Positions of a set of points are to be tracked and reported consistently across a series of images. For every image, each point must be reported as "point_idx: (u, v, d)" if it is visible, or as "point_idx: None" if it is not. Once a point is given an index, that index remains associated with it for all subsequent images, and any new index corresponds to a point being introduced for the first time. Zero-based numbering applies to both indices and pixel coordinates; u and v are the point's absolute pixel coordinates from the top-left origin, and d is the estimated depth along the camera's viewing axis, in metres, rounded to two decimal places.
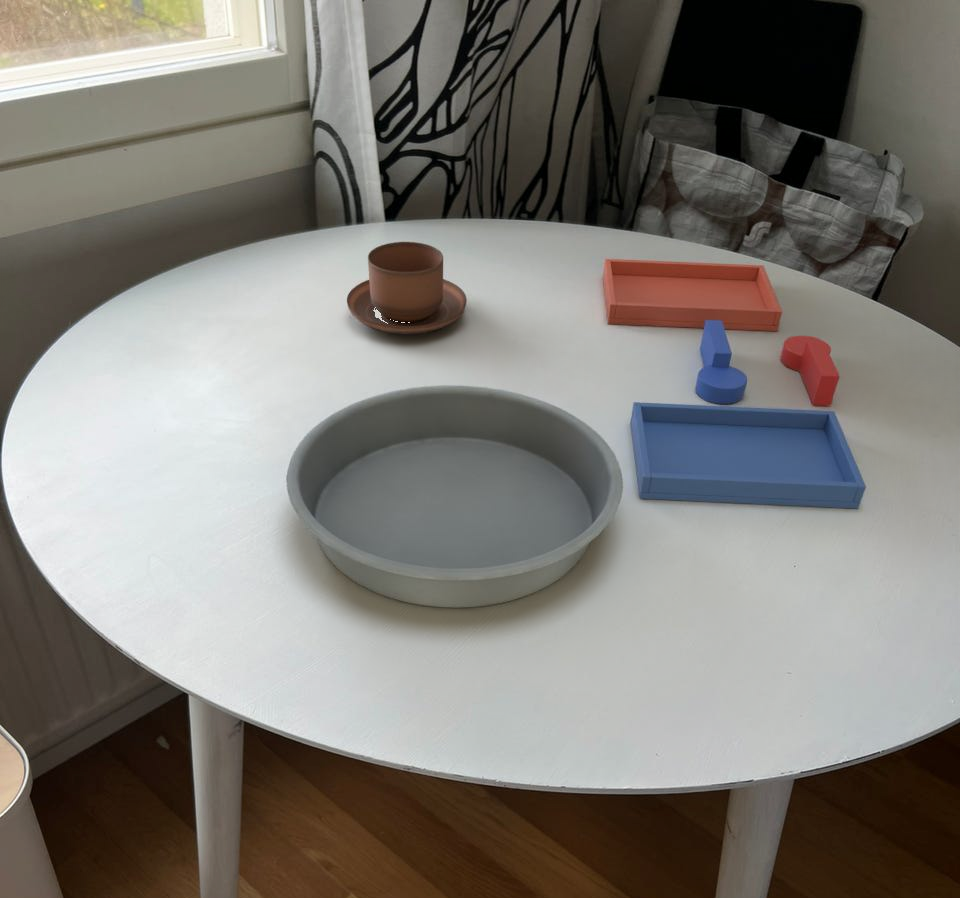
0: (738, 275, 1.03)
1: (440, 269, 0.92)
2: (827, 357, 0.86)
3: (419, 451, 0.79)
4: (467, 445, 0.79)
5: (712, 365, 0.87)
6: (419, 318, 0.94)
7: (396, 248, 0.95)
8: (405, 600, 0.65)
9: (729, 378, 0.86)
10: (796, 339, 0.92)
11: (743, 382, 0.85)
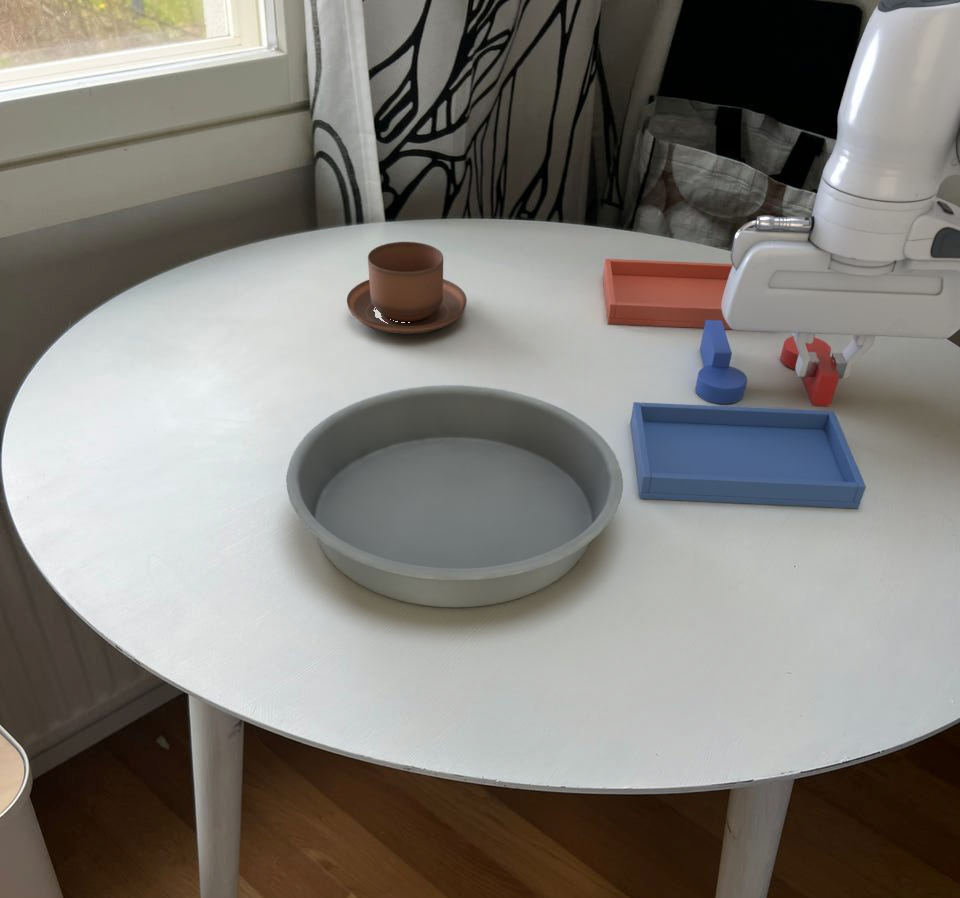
0: None
1: (440, 269, 0.92)
2: (827, 357, 0.86)
3: (419, 451, 0.79)
4: (467, 445, 0.79)
5: (712, 365, 0.87)
6: (419, 318, 0.94)
7: (396, 248, 0.95)
8: (405, 600, 0.65)
9: (729, 378, 0.86)
10: None
11: (743, 382, 0.85)
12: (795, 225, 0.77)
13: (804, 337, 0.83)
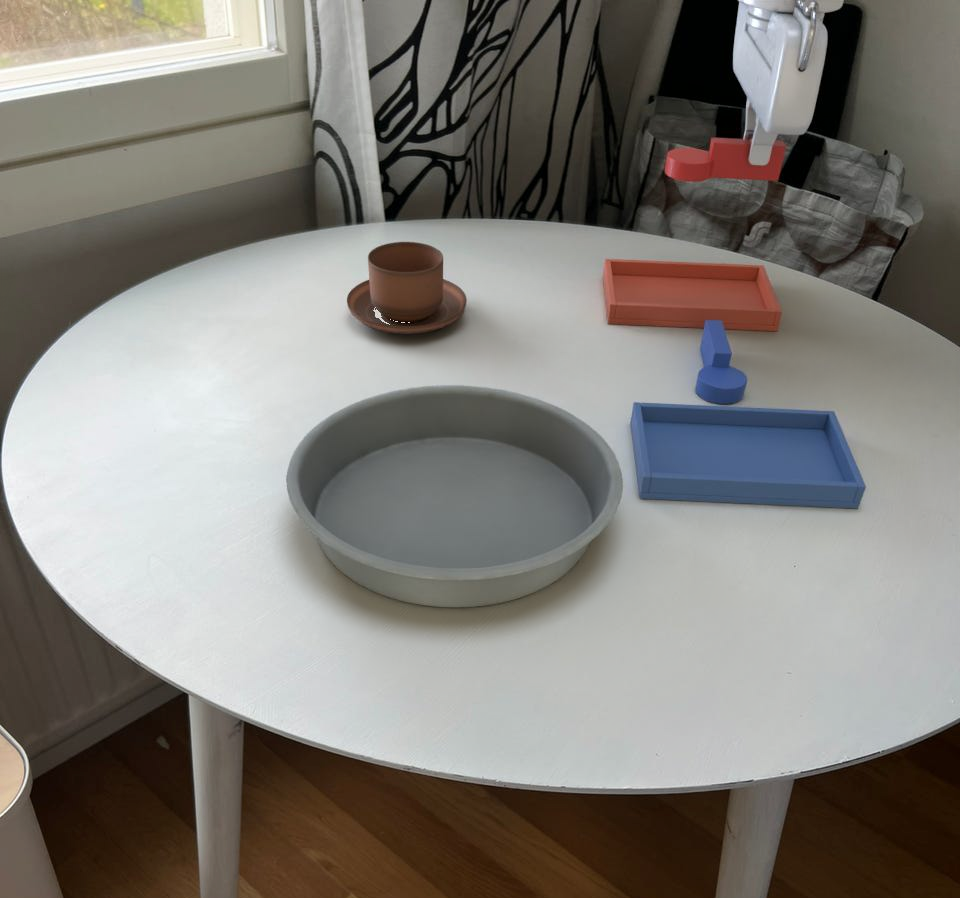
0: (738, 275, 1.03)
1: (440, 269, 0.92)
2: (746, 140, 0.87)
3: (419, 451, 0.79)
4: (467, 445, 0.79)
5: (712, 365, 0.87)
6: (419, 318, 0.94)
7: (396, 248, 0.95)
8: (405, 600, 0.65)
9: (729, 378, 0.86)
10: (678, 157, 0.87)
11: (743, 382, 0.85)
12: None
13: None
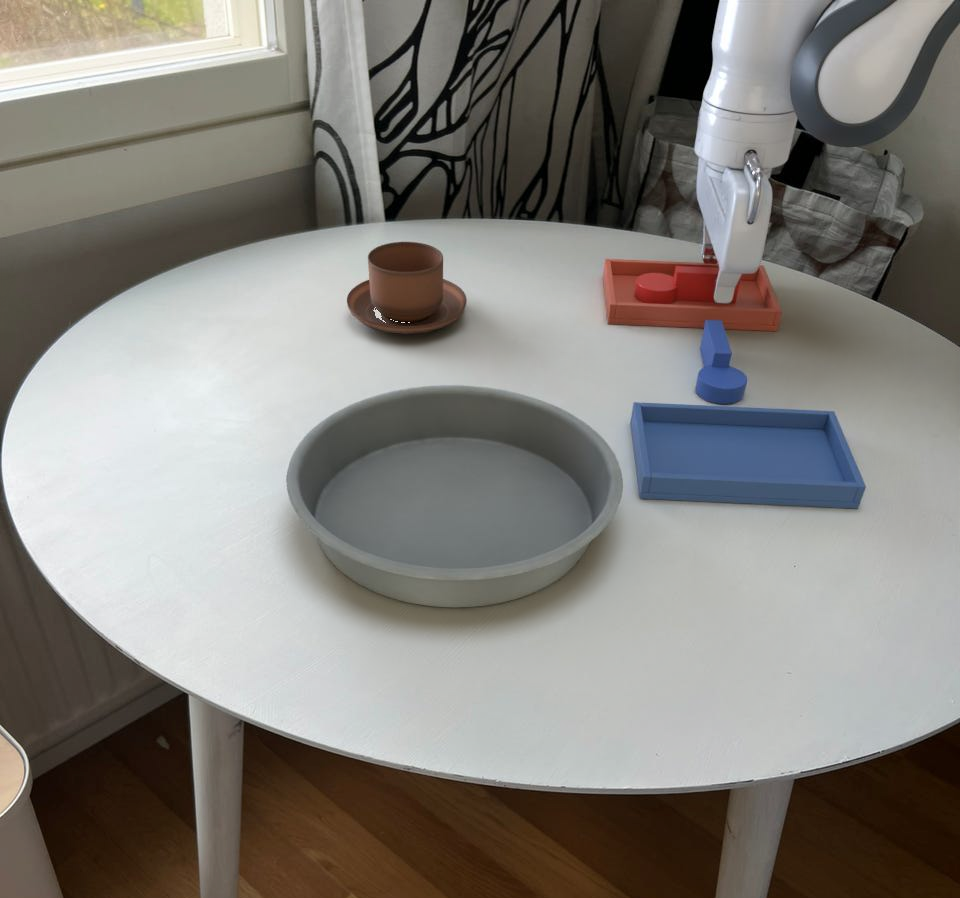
0: None
1: (440, 269, 0.92)
2: (707, 268, 0.98)
3: (419, 451, 0.79)
4: (467, 445, 0.79)
5: (712, 365, 0.87)
6: (419, 318, 0.94)
7: (396, 248, 0.95)
8: (405, 600, 0.65)
9: (729, 378, 0.86)
10: (646, 284, 0.98)
11: (743, 382, 0.85)
12: None
13: None
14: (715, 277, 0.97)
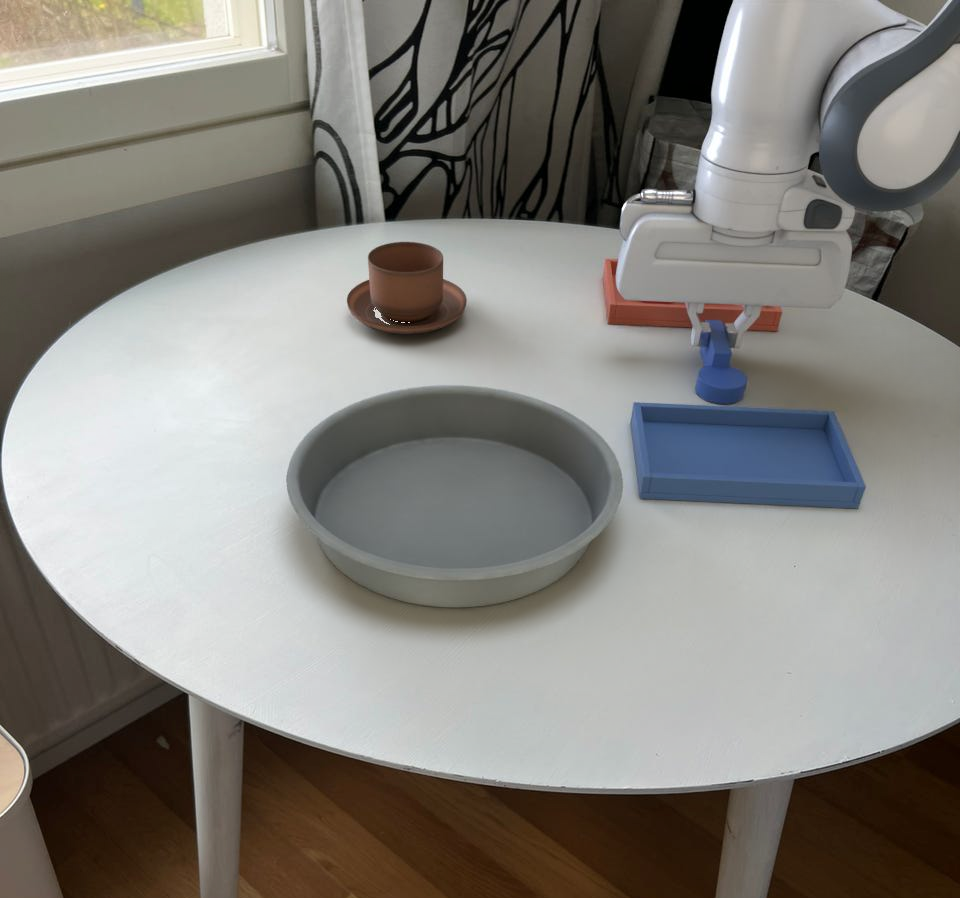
0: None
1: (440, 269, 0.92)
2: None
3: (419, 451, 0.79)
4: (467, 445, 0.79)
5: (712, 365, 0.87)
6: (419, 318, 0.94)
7: (396, 248, 0.95)
8: (405, 600, 0.65)
9: (729, 378, 0.86)
10: None
11: (743, 382, 0.85)
12: (677, 198, 0.81)
13: (694, 307, 0.87)
14: None
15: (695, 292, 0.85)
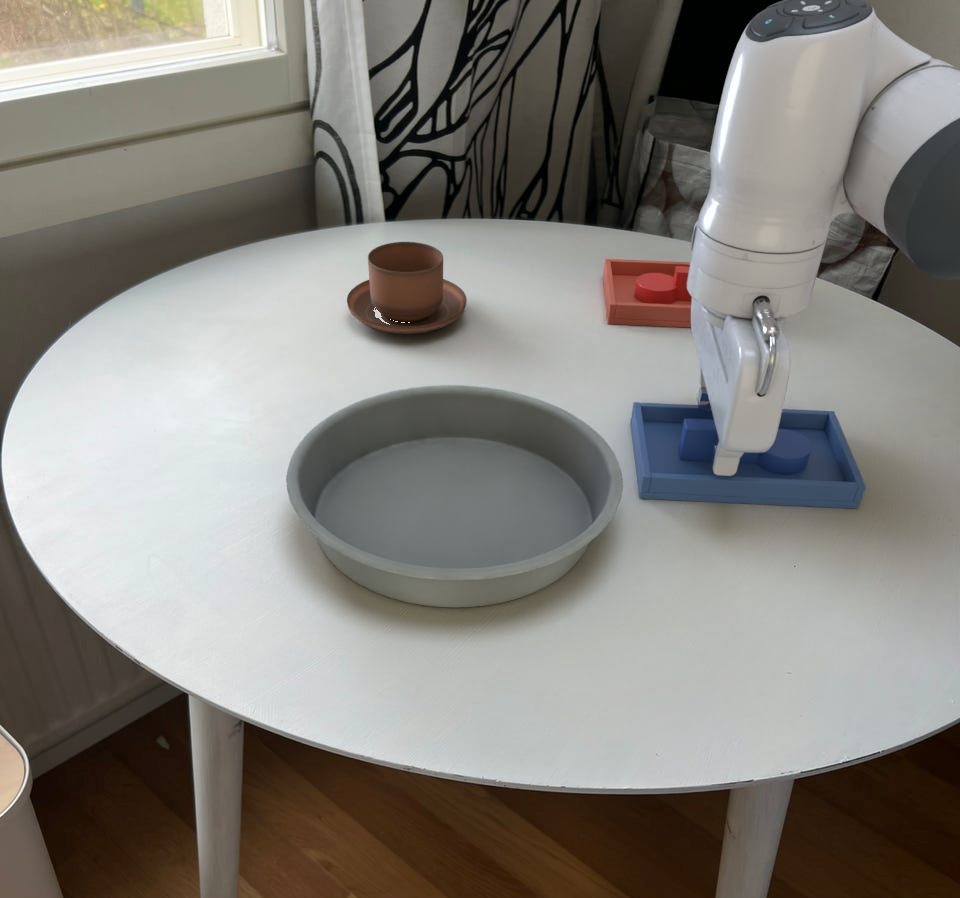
0: None
1: (440, 269, 0.92)
2: None
3: (419, 451, 0.79)
4: (467, 445, 0.79)
5: None
6: (419, 318, 0.94)
7: (396, 248, 0.95)
8: (405, 600, 0.65)
9: (788, 439, 0.78)
10: (646, 284, 0.98)
11: (792, 432, 0.78)
12: None
13: None
14: None
15: None
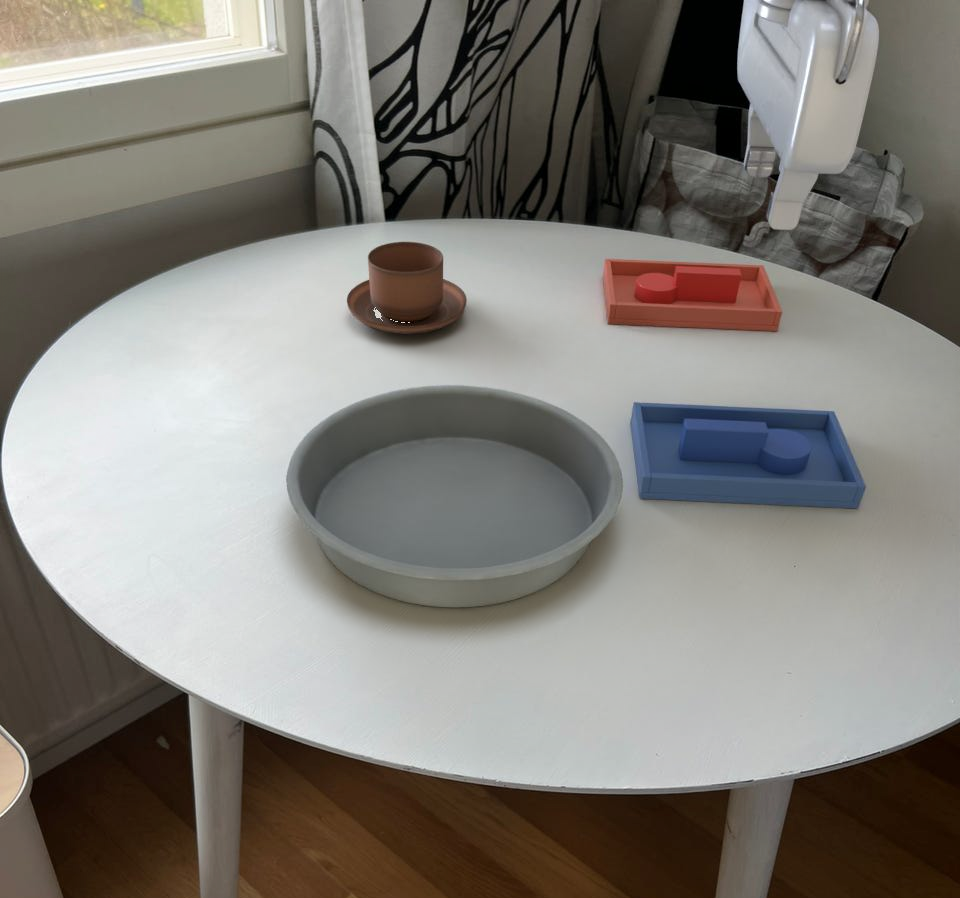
0: None
1: (440, 269, 0.92)
2: (707, 268, 0.98)
3: (419, 451, 0.79)
4: (467, 445, 0.79)
5: (764, 445, 0.77)
6: (419, 318, 0.94)
7: (396, 248, 0.95)
8: (405, 600, 0.65)
9: (788, 439, 0.78)
10: (646, 284, 0.98)
11: (792, 432, 0.78)
12: None
13: None
14: (715, 277, 0.97)
15: None
